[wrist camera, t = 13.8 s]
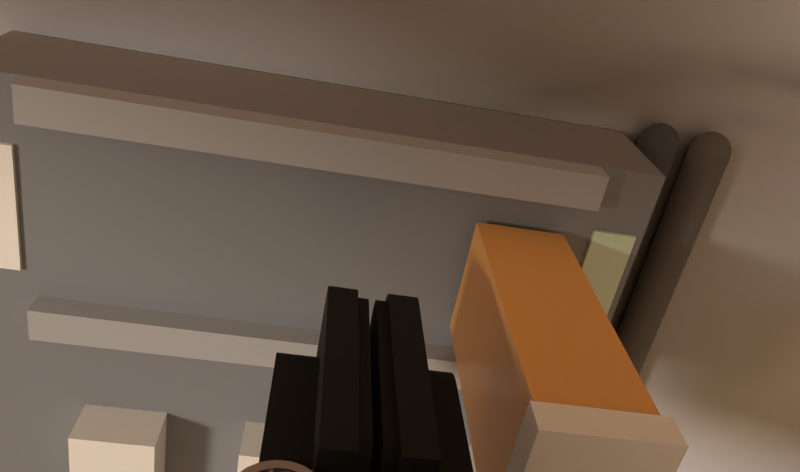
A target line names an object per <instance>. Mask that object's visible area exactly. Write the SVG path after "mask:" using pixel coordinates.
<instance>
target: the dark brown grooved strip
mask: <svg viewBox="0 0 800 472" xmlns="http://www.w3.org/2000/svg"><path fill="white" fill-rule="evenodd" d="M636 147H637V148H638V149H639V150H640V151H641V152H642V153H643V154H644V155H645V156H646V157H647V158H648V159H649V160H650V161H651V162H652V163H653V164H654V165H655V166H656V167H657V169H658V170H659V171H660V172H661V173H662V174H663V175H664V176H665V177H666V178H665V181H664V183H663V186H662V189H661V191H660V194H659V196H658V199H657V202H656V204H655V207H654V209H653V212H652V215H651V217H650V220H649V223H648V225H647V228H646V230H645V233H644V236H643V238H642V241H641V244H640V246H639V249H638V251H637V254H636V257H635V259H634V262H633V265H632V267H631V270H630V272H629V275H628V278H627V280H626V283H625V285H624V288H623V291H622V293H621V296H620V299H619V301H618V304H617V306H616V309H615V312H614V314H613V317H612V320H611V324H612V321H613V318H614V316H615V313H616V310H617V308H618V305H619V303H620V300H621V297H622V295H623V292H624V290H625V287H626V284H627V282H628V279H629V276H630V274H631V271H632V269H633V266H634V263H635V261H636V258H637V256H638V253H639V250H640V248H641V245H642V243H643V240H644V237H645V235H646V232H647V229H648V227H649V224H650V222H651V219H652V216H653V214H654V211H655V209H656V206H657V203H658V201H659V198H660V195H661V193H662V190H663V188H664V185H665V182H666V180H667V177H668V175H669V172H670V169H671V167H672V164H673V162H674V159H675V156H676V154H677V151H678V148H679V137H678V134H677V132H676V131H675V130H674V129H673V128H672V127H671V126H669V125H667V124H662V123H657V124H652V125H650V126H648V127H646V128H645V129H644V130H643V131H642V132H641V134H640V136H639V138H638V141H637V144H636ZM730 156H731V146H730V143H729V141H728V140H727V139H726V138H725V137H724V136H723V135H721V134H719V133H716V132H706V133H703V134H701V135H699V136H697V137H696V138H695V139H694V140H693V141H692V143H691V145H690V147H689V149H688V152H687V154H686V157H685V160H684V162H683V165H682V167H681V170H680V172H679V175H678V177H677V180H676V183H675V185H674V188H673V190H672V193H671V195H670V198H669V201H668V203H667V206H666V208H665V211H664V213H663V216H662V219H661V221H660V224H659V226H658V229H657V231H656V234H655V236H654V239H653V242H652V244H651V247H650V249H649V252H648V254H647V257H646V260H645V262H644V265H643V267H642V270H641V272H640V275H639V278H638V280H637V283H636V285H635V288H634V290H633V293H632V296H631V298H630V301H629V303H628V306H627V308H626V311H625V313H624V316H623V319H622V321H621V324H620V326H619V329H618V331H617V335H618V337H619V339H620V341H621V343H622V345H623V347H624V348H625V350H626V352H627V354H628V356H629V358H630V360H631V362H632V363H633V365H634V367H635V369H636V371H637V373H638V375H639V373H640V370H641V368H642V366H643V363H644V361H645V358H646V356H647V354H648V351H649V349H650V347H651V344H652V342H653V339H654V337H655V335H656V332H657V330H658V328H659V325H660V323H661V320H662V318H663V316H664V313H665V311H666V309H667V306H668V304H669V301H670V299H671V297H672V294H673V292H674V289H675V287H676V285H677V282H678V280H679V278H680V275H681V273H682V270H683V268H684V266H685V263H686V261H687V259H688V256H689V254H690V251H691V249H692V247H693V244H694V242H695V240H696V237H697V235H698V232H699V230H700V228H701V225H702V223H703V221H704V218H705V216H706V213H707V211H708V209H709V206H710V204H711V201H712V199H713V197H714V194H715V192H716V190H717V187H718V185H719V182H720V180H721V178H722V175H723V173H724V171H725V168H726V166H727V163H728V161H729V159H730Z"/></svg>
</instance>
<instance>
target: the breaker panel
mask: <svg viewBox="0 0 800 472" xmlns="http://www.w3.org/2000/svg"><path fill="white" fill-rule="evenodd" d="M665 178H666V177H665V176H664V175H663V174H662V173H661V172H660V171H659V170H658V169H657V167H656V166H655V165H654V164H653V163H652V162H651V161H650V160H649V159H648V158H647V157H646V156H645V155H644V154H643V153H642V152H641V151H640V150H639V149H638V148H637V147H636V146H635V145H634V144H633V143H632V142H631V140H630V139H629V138H628V137H627V136H626V135H625V134H624V133H623V132H621V131H615V130H609V129H603V128H597V127H591V126H585V125H578V124H572V123H566V122H560V121H554V120H548V119H542V118H536V117H530V116H524V115H518V114H512V113H506V112H500V111H494V110H488V109H482V108H476V107H470V106H464V105H458V104H452V103H446V102H440V101H434V100H428V99H422V98H415V97H409V96H403V95H397V94H391V93H385V92H379V91H373V90H367V89H361V88H355V87H349V86H343V85H337V84H331V83H325V82H319V81H313V80H307V79H301V78H295V77H289V76H283V75H277V74H271V73H265V72H258V71H252V70H246V69H240V68H234V67H228V66H222V65H216V64H210V63H204V62H198V61H192V60H186V59H180V58H174V57H168V56H162V55H156V54H150V53H144V52H138V51H132V50H126V49H120V48H114V47H108V46H102V45H95V44H89V43H83V42H77V41H71V40H65V39H59V38H53V37H47V36H41V35H35V34H29V33H23V32H17V31H10V32H8V33H6V34H3V35H1V36H0V472H241V471H242V470H244V469H245V468H247V467H249V466H251V465H254V464H256V463H259V458H260V452H261V445H262V439H263V433H264V427H265V421H266V414H267V408H268V402H269V396H270V389H271V383H272V377H273V371H274V365H275V358H276V353H277V352H278V353H287V354H296V355H304V356H313V357H316V355H317V349H318V343H319V337H320V331H321V325H322V319H323V313H324V307H325V301H326V295H327V289H328V286H334V287H342V288H350V289H357V290H358V298H365V299H369V320H370V322H371V317H372V312H373V307H374V303H375V301H376V300H380V301H386V297H387V295H388V294H395V295H403V296H411V297H417V298H418V300H419V306H420V313H421V320H422V327H423V334H424V341H425V347H426V354H427V361H428V368H429V370H433V371H442V372H451V373H453V374H454V376H455V379H456V384H457V389H458V394H459V399H460V404H461V410H462V415H463V420H464V425H465V430H466V436H467V441H468V446H469V451H470V456H471V461H472V467H473V472H477V470H476V465H475V459H474V454H473V449H472V443H471V438H470V432H469V427H468V422H467V416H466V411H465V405H464V400H463V395H462V389H461V384H460V378H459V373H458V368H457V362H456V357H455V352H454V346H453V341H452V335H451V330H450V323H451V319H452V315H453V312H454V308H455V304H456V300H457V296H458V292H459V288H460V284H461V281H462V277H463V273H464V269H465V265H466V261H467V257H468V253H469V250H470V246H471V242H472V238H473V234H474V230H475V226H476V222H480V223H487V224H494V225H501V226H508V227H514V228H521V229H528V230H535V231H542V232H549V233H556V234H563V235H564V237H565V239H566V240H567V242H568V244H569V246H570V248H571V250H572V252H573V254H574V255H575V257H576V259H577V261H578V263H579V265H580V267H581V268H582V270H583V272H584V274H585V276H586V278H587V280H588V281H589V283H590V285H591V287H592V289H593V291H594V293H595V294H596V296H597V298H598V300H599V302H600V304H601V306H602V308H603V309H604V311H605V313H606V315H607V317H608V319H609V321H610V322H611V320H612V317H613V314H614V312H615V309H616V306H617V304H618V301H619V299H620V296H621V293H622V291H623V288H624V285H625V283H626V280H627V278H628V275H629V272H630V270H631V267H632V265H633V262H634V259H635V257H636V254H637V251H638V249H639V246H640V244H641V241H642V238H643V236H644V233H645V230H646V228H647V225H648V223H649V220H650V217H651V215H652V212H653V209H654V207H655V204H656V202H657V199H658V196H659V194H660V191H661V189H662V186H663V183H664V181H665Z"/></svg>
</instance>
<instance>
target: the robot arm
mask: <svg viewBox="0 0 800 472" xmlns="http://www.w3.org/2000/svg"><path fill="white" fill-rule="evenodd" d="M241 472H473V467H472V461H471V456H470V451H469V446H468V441H467V436H466V430H465V425H464V420H463V415H462V410H461V404H460V399H459V394H458V389H457V384H456V379H455V376H454V374H453V373H451V372H442V371H433V370H429V368H428V361H427V354H426V347H425V341H424V334H423V327H422V320H421V313H420V306H419V300H418V298H417V297H411V296H403V295H395V294H388V295H387V297H386V301H380V300H376V301H375V303H374V307H373V312H372V317H371V322H370V320H369V299H365V298H358V290H357V289H350V288H342V287H334V286H328V289H327V295H326V301H325V307H324V313H323V319H322V325H321V331H320V337H319V343H318V349H317V355H316V357H313V356H304V355H296V354H287V353H278V352H277V353H276V358H275V365H274V371H273V377H272V383H271V389H270V396H269V402H268V408H267V414H266V421H265V427H264V433H263V439H262V445H261V452H260V458H259V463H256V464H254V465H251V466H249V467H247V468H245V469H244V470H242V471H241Z"/></svg>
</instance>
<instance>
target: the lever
mask: <svg viewBox="0 0 800 472" xmlns="http://www.w3.org/2000/svg"><path fill="white" fill-rule="evenodd" d="M450 330H451V335H452V341H453V346H454V352H455V357H456V362H457V368H458V373H459V378H460V384H461V389H462V395H463V400H464V405H465V411H466V416H467V422H468V427H469V432H470V438H471V443H472V449H473V454H474V459H475V465H476V470H477V472H676V471H677V469H678V467H679V465H680V463H681V461H682V459H683V457H684V455H685V453H686V450H687V448H688V444H687V442H686V441H685V439H684V437H683V435H682V433H681V432H680V430H679V428H678V426H677V424H676V423H675V421H674V419H673V417H670V416H661V415H660V414H659V412H658V410H657V408H656V406H655V404H654V402H653V401H652V399H651V397H650V395H649V393H648V391H647V389H646V388H645V386H644V384H643V382H642V380H641V378H640V376H639V375H638V373H637V371H636V369H635V367H634V365H633V363H632V362H631V360H630V358H629V356H628V354H627V352H626V350H625V348H624V347H623V345H622V343H621V341H620V339H619V337H618V335H617V334H616V332H615V330H614V328H613V326H612V324H611V322H610V321H609V319H608V317H607V315H606V313H605V311H604V309H603V308H602V306H601V304H600V302H599V300H598V298H597V296H596V294H595V293H594V291H593V289H592V287H591V285H590V283H589V281H588V280H587V278H586V276H585V274H584V272H583V270H582V268H581V267H580V265H579V263H578V261H577V259H576V257H575V255H574V254H573V252H572V250H571V248H570V246H569V244H568V242H567V240H566V239H565V237H564V235H563V234H556V233H549V232H542V231H535V230H528V229H521V228H514V227H508V226H501V225H494V224H487V223H480V222H476V226H475V230H474V234H473V238H472V242H471V246H470V250H469V253H468V257H467V261H466V265H465V269H464V273H463V277H462V281H461V284H460V288H459V292H458V296H457V300H456V304H455V308H454V312H453V315H452V319H451V323H450Z"/></svg>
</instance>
